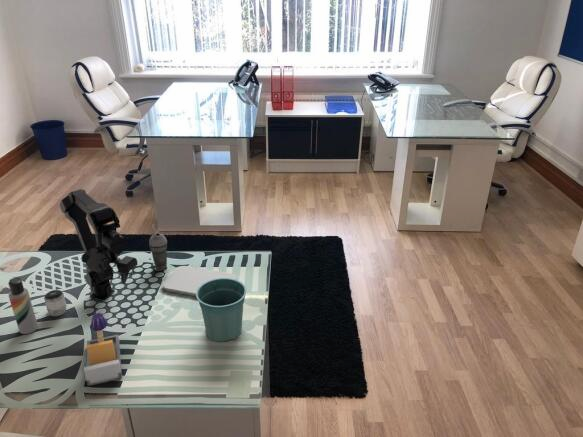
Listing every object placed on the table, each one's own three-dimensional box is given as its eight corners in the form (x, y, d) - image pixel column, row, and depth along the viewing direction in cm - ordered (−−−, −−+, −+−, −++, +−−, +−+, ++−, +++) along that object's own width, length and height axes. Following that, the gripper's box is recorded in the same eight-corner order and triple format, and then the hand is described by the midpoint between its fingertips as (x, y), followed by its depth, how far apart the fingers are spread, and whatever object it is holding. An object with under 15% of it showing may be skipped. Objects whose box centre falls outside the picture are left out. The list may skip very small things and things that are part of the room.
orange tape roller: (88, 346, 155) (84, 331, 152) (119, 339, 158) (116, 325, 155) (87, 386, 140) (83, 371, 137) (121, 378, 143) (119, 363, 140)
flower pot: (190, 326, 165) (187, 288, 157) (231, 309, 174) (230, 272, 166) (214, 353, 153) (211, 313, 146) (257, 333, 162) (256, 294, 155)
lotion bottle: (23, 323, 165) (9, 275, 155) (40, 323, 165) (27, 274, 156) (16, 334, 159) (1, 285, 150) (34, 334, 160) (19, 284, 151)
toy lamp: (110, 350, 152) (103, 308, 145) (113, 360, 149) (106, 317, 141) (94, 355, 150) (86, 313, 142) (97, 365, 146) (89, 322, 139)
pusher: (91, 365, 146) (86, 345, 143) (116, 359, 149) (112, 339, 145) (91, 367, 145) (86, 347, 142) (116, 362, 148) (112, 342, 144)
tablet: (223, 303, 177) (222, 298, 176) (159, 291, 183) (159, 286, 182) (238, 279, 191) (238, 274, 190) (179, 269, 197) (179, 264, 196)
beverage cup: (165, 273, 194) (160, 229, 185) (149, 271, 195) (142, 227, 186) (173, 263, 200) (168, 221, 191) (157, 261, 201) (151, 219, 192)
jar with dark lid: (68, 313, 170) (64, 295, 166) (49, 319, 167) (44, 300, 163) (65, 304, 175) (61, 286, 171) (47, 309, 172) (42, 291, 168)
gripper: (65, 248, 155) (74, 287, 162) (113, 259, 149) (120, 299, 156) (89, 232, 164) (97, 270, 171) (135, 242, 159) (141, 281, 166)
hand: (113, 280), depth 166 cm, fingers open, 9 cm apart
